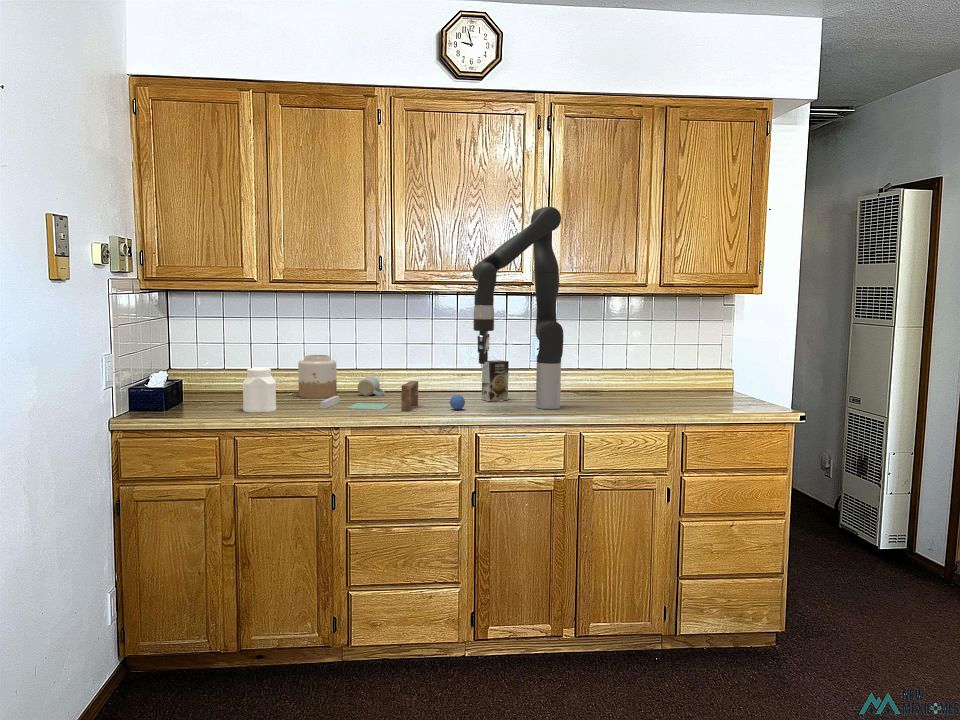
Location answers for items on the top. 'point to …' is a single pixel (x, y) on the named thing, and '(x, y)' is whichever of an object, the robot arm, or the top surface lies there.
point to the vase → (317, 377)
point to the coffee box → (495, 380)
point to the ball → (457, 402)
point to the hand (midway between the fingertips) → (483, 362)
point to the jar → (259, 391)
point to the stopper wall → (329, 402)
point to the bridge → (409, 395)
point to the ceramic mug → (370, 387)
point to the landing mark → (368, 406)
